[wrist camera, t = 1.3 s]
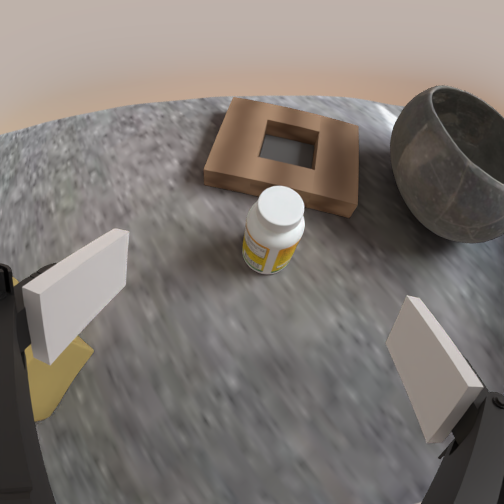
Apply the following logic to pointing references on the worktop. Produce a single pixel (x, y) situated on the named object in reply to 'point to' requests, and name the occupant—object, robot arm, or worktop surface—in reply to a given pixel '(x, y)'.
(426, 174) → the bowl
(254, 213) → the supplement bottle
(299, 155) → the well board
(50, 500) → the robot arm
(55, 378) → the cheese
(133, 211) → the worktop surface
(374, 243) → the worktop surface
